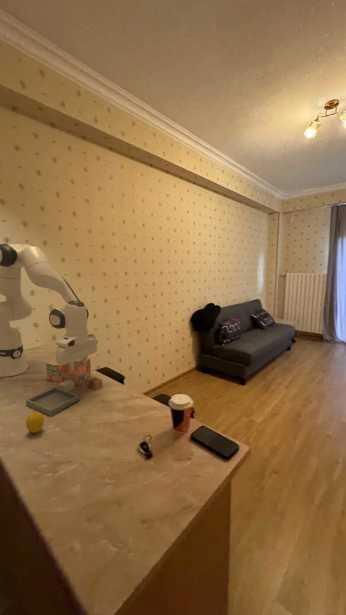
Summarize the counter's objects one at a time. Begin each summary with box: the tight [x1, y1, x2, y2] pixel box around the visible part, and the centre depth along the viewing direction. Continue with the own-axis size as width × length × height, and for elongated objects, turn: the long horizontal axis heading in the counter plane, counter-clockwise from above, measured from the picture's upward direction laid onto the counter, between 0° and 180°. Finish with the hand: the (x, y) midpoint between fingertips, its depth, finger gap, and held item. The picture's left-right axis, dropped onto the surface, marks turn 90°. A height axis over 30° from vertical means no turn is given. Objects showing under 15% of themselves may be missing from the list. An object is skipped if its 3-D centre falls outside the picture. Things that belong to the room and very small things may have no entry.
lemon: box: [25, 411, 45, 434], centre depth 94 cm, size 6×6×8 cm
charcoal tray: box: [25, 386, 80, 418], centre depth 114 cm, size 16×14×2 cm
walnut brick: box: [86, 376, 103, 391], centre depth 129 cm, size 6×4×4 cm, turn 58°
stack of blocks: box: [45, 357, 92, 386], centre depth 136 cm, size 21×6×12 cm, turn 77°
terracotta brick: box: [70, 362, 86, 376], centre depth 120 cm, size 6×4×4 cm, turn 60°
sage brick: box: [57, 379, 76, 392], centre depth 126 cm, size 4×6×4 cm, turn 148°
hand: (78, 367), depth 120 cm, fingers closed on terracotta brick, 4 cm apart
